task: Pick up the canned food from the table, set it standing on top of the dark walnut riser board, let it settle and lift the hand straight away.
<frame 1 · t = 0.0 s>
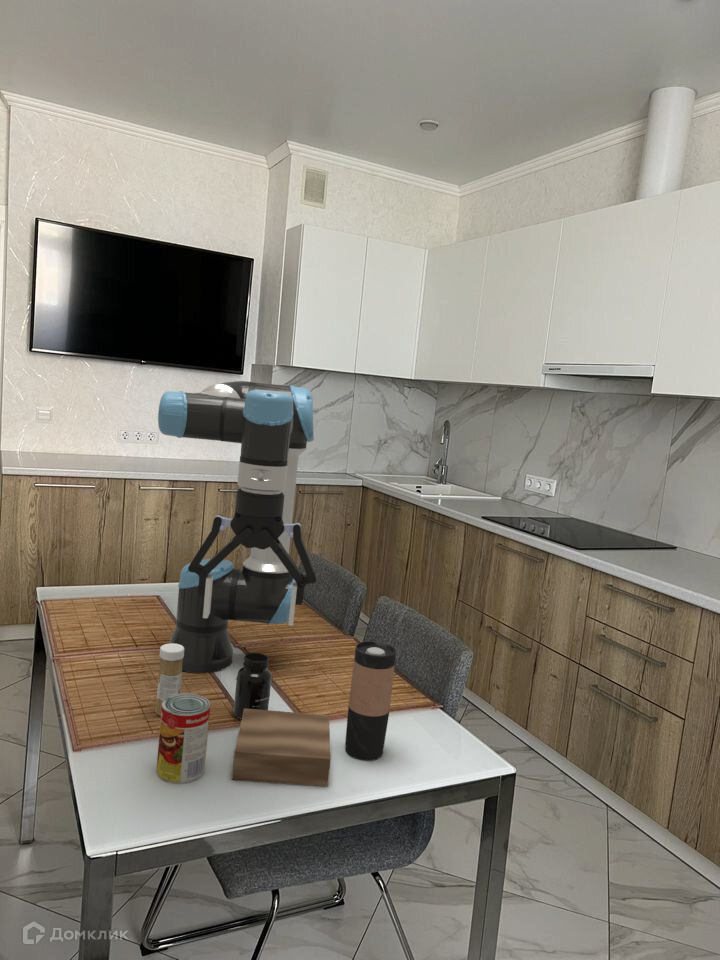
hand: (248, 619, 120), 28 cm above the table, tool pointing down, fingers open, 13 cm apart
walnut riser: (282, 758, 132), on the table
supplement bottle: (250, 715, 148), on the table
canned food: (180, 771, 125), on the table
travel mug: (363, 751, 138), on the table
sprinkles bottle: (167, 713, 144), on the table
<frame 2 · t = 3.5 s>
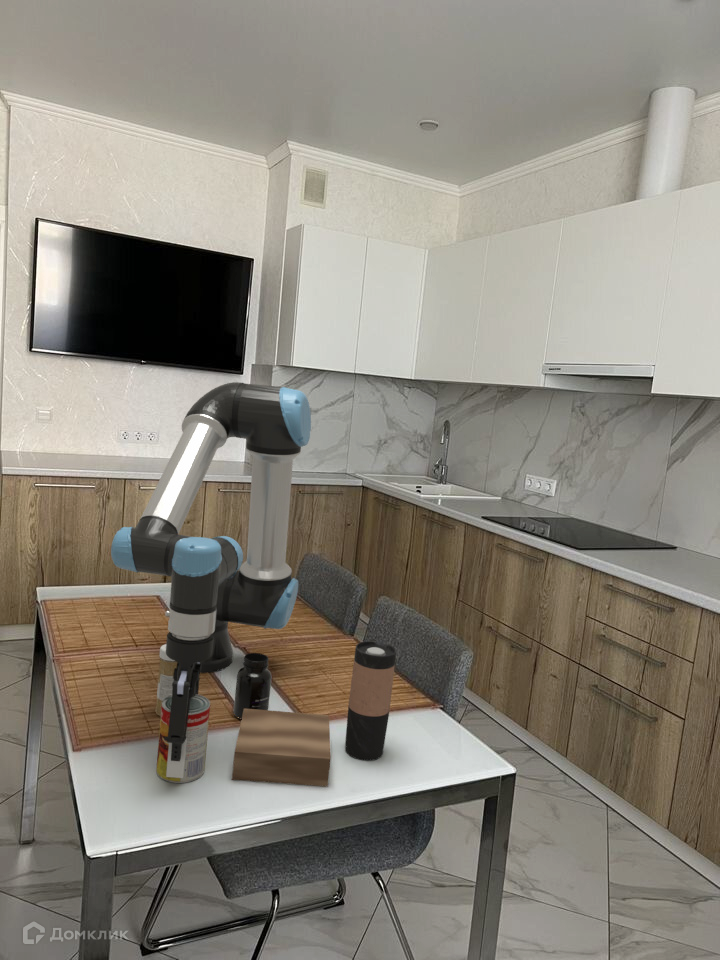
hand: (179, 762, 125), 1 cm above the table, tool pointing down, fingers closed on canned food, 8 cm apart
canned food: (180, 771, 125), on the table, touching gripper
everything else where it was.
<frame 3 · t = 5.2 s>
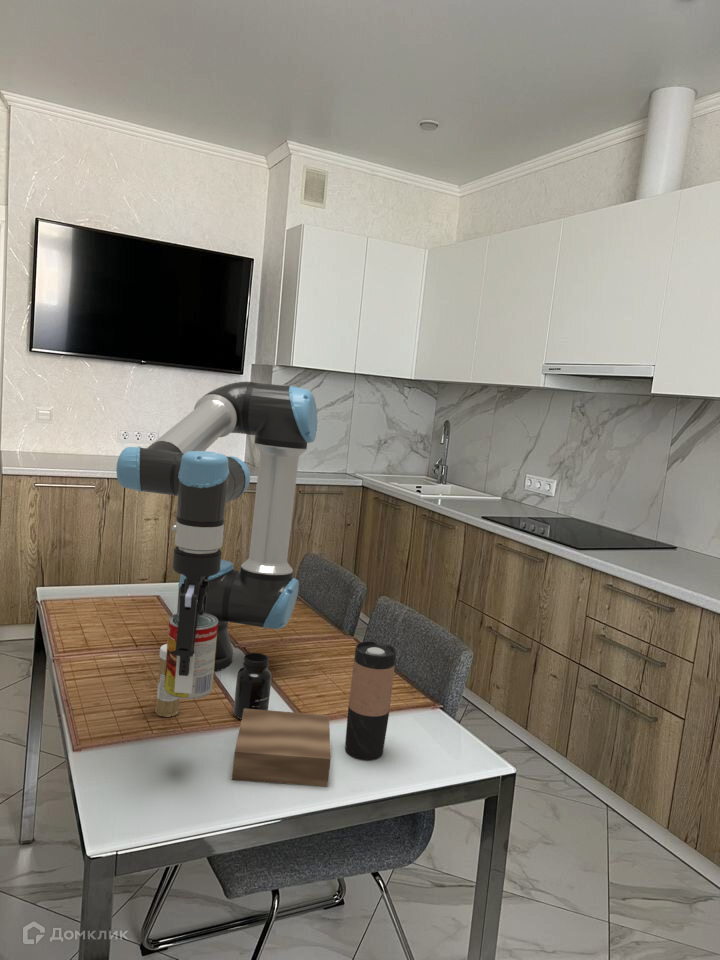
hand: (187, 680, 123), 16 cm above the table, tool pointing down, fingers closed on canned food, 8 cm apart
canned food: (188, 689, 123), point 14 cm above the table, touching gripper
everything else where it was.
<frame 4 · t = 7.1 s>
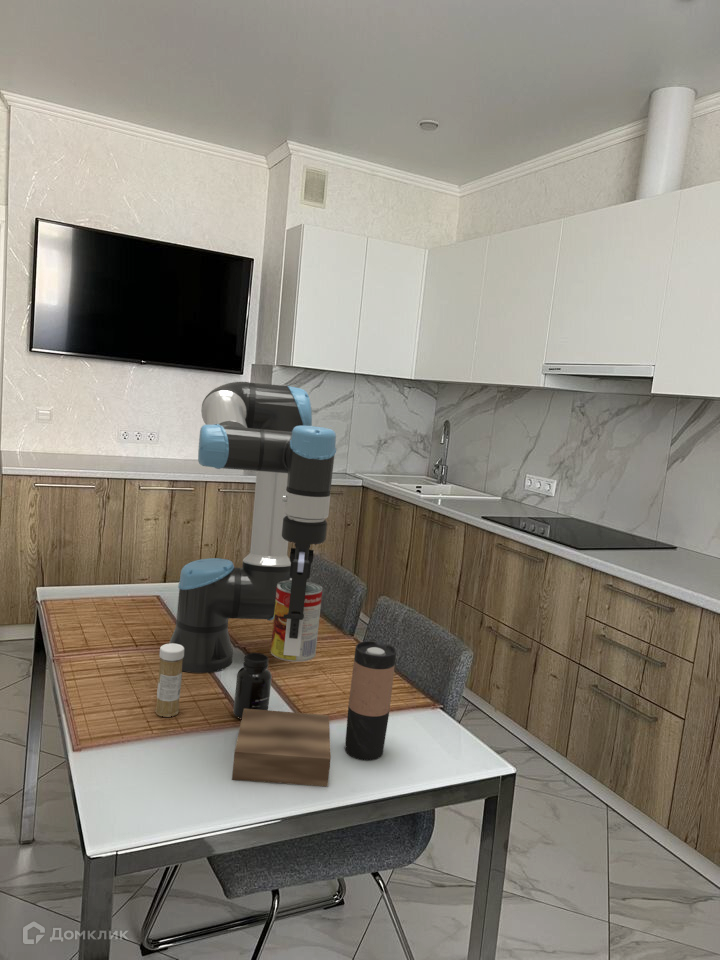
hand: (292, 645, 129), 21 cm above the table, tool pointing down, fingers closed on canned food, 8 cm apart
canned food: (292, 654, 129), point 20 cm above the table, touching gripper
everything else where it was.
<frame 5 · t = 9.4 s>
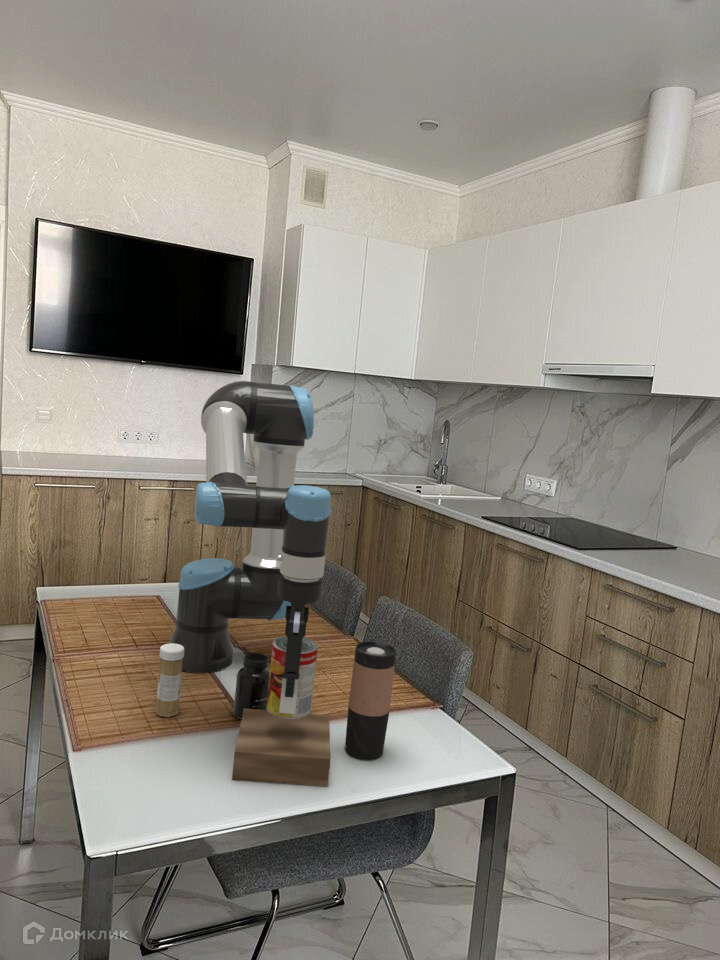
hand: (288, 701, 131), 11 cm above the table, tool pointing down, fingers closed on canned food, 8 cm apart
canned food: (288, 709, 131), point 9 cm above the table, touching gripper
everything else where it was.
when the fingers open (8 cm above the table, at t = 11.0 s): canned food drops 2 cm, resting on walnut riser.
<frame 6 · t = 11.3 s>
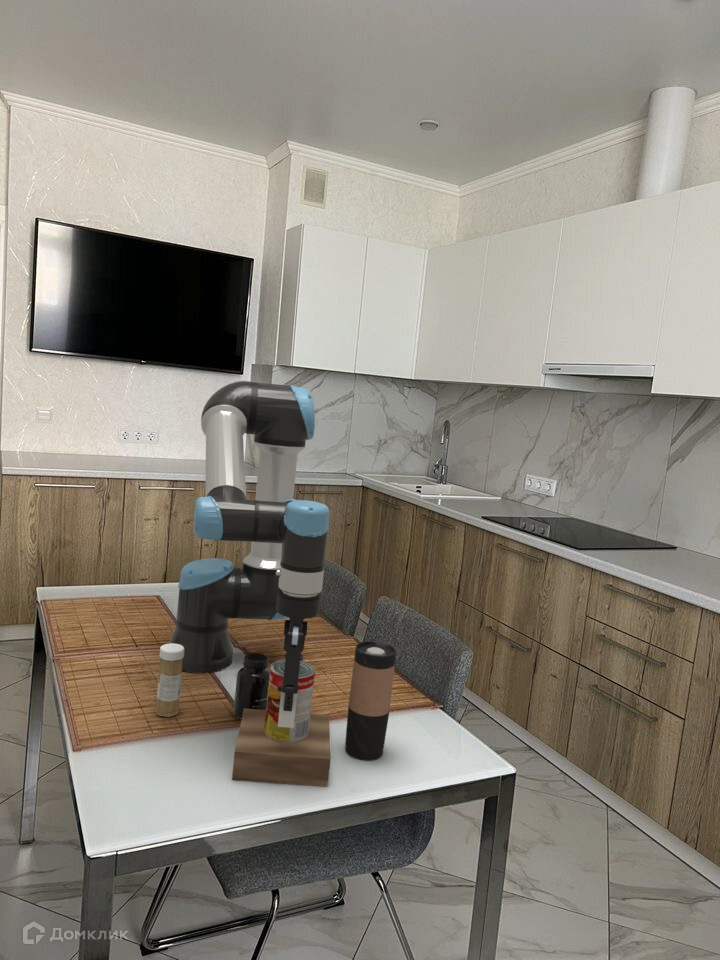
hand: (287, 710, 131), 9 cm above the table, tool pointing down, fingers open, 11 cm apart
canned food: (286, 733, 132), point 5 cm above the table, touching walnut riser
everything else where it was.
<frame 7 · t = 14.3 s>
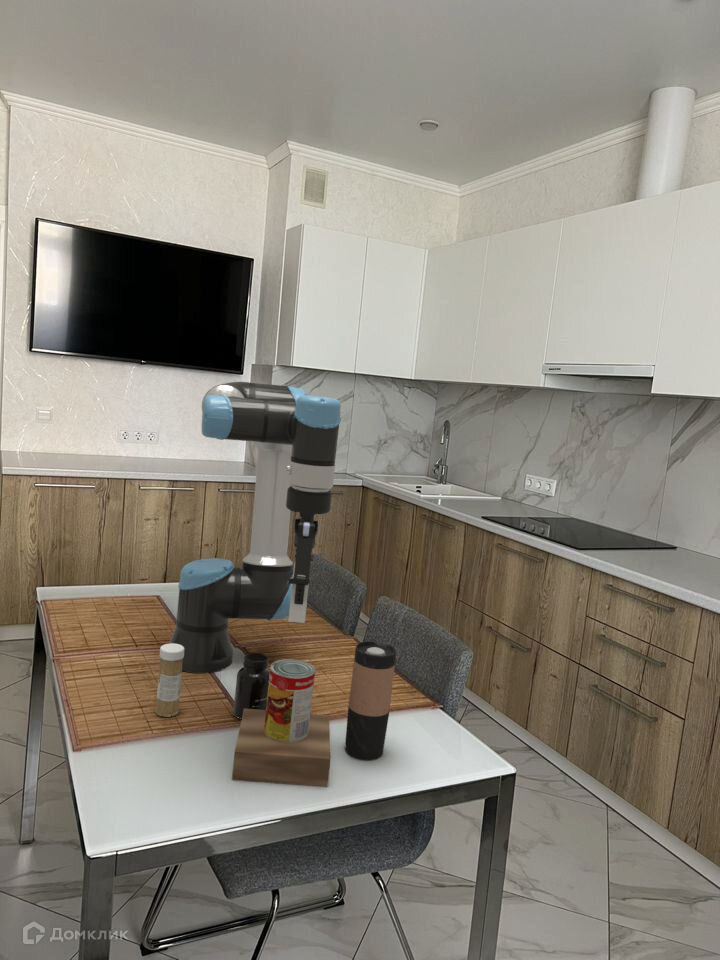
hand: (297, 608, 128), 28 cm above the table, tool pointing down, fingers open, 13 cm apart
nothing on the table moved.
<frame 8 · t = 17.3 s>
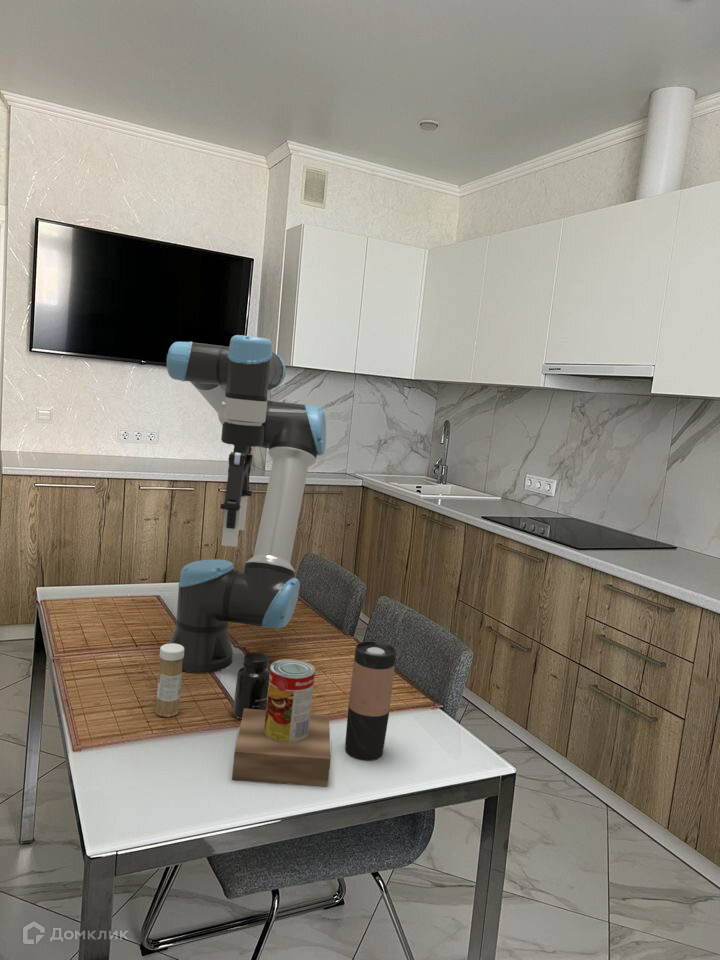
hand: (233, 537, 137), 37 cm above the table, tool pointing down, fingers open, 13 cm apart
nothing on the table moved.
at the end: canned food inside the target area on the walnut riser (0.2 cm from its centre), point 4.8 cm above the walnut riser's base; canned food tilted 0°; canned food touching walnut riser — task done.
